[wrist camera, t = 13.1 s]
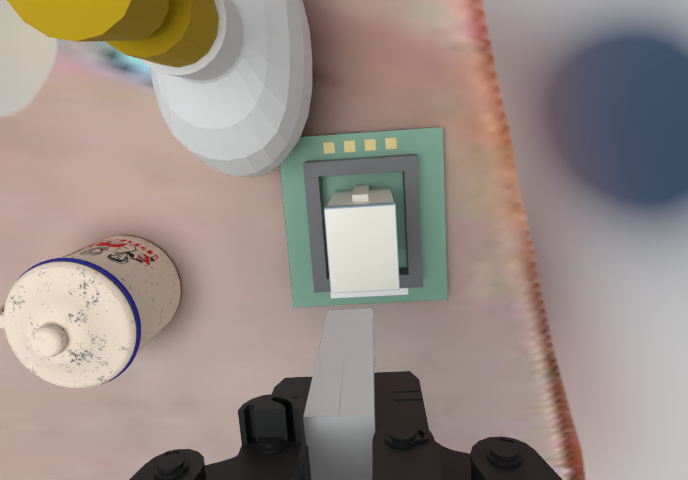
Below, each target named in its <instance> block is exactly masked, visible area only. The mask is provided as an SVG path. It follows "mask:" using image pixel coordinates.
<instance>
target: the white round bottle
mask: <svg viewBox="0 0 688 480" xmlns="http://www.w3.org/2000/svg"><path fill="white" fill-rule="evenodd" d="M7 1H8V2H9V3H10V4H11V6H12V7H13V8H14V10H15V11H16V12H17V13H18V15H19V16H20V17H21V19H22V20H23V21H24V22H26V23H27V24H29V25H31V26H32V27H34V28H35V29H37V30H39V31H40V32H42V33H43V34H45V35H47V36H48V37H53V38H59V39H65V40H71V41H106V42H107V43H108V44H109V45H111V46H113V47H114V48H116V49H117V50H119V51H121V52H122V53H124V54H125V55H129V56H132V57H136V58H139V59H140V60H141V61H142V62H144V63H145V64H147V65H148V66H149V67H150V70H151V76H152V82H153V86H154V90H155V93H156V97H157V100H158V104H159V108H160V111H161V114H162V115H163V117H164V119H165V121H166V123H167V125H168V126H169V128H170V130H171V132H172V134H173V136H175V137H176V138H177V139H178V140H179V141H180V142H181V143H182V144H183V145H184V146H185V147H186V148H187V149H189V150H190V151H191V152H192V153H193V154H194V155H195V156H196V157H197V158H198V159H199V160H200V161H202V162H203V163H204V164H205V165H207V166H209V167H211V168H213V169H215V170H217V171H219V172H221V173H223V174H230V175H236V176H244V177H255V176H259V175H264V174H267V173H269V172H270V171H271V170H273V169H274V168H276V167H277V166H279V165H280V164H281V163H282V162H283V161H284V160H285V158H286V157H287V156H288V154H289V153H290V152H291V150H292V149H293V148H294V146H295V145H296V144H297V142H298V141H299V139H300V137H301V134H302V132H303V129H304V126H305V124H306V121H307V118H308V114H309V107H310V101H311V94H312V50H311V39H310V29H309V25H308V20H307V16H306V12H305V8H304V3H303V0H7Z"/></svg>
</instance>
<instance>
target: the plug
mask: <svg viewBox="0 0 688 480" xmlns="http://www.w3.org/2000/svg"><path fill="white" fill-rule="evenodd" d="M324 215H325V228H326V240H327V253H328V265H329V278H330V290H331V293H347V292H367V291H386V290H400V282H399V262H398V242H397V222H396V204H395V202H394V201H393V197H392V193H391V190H390V187H374V188H369V185H358V186H355V187H354V189H343V190H335V192H334V194H333V196H332V197H331V199H330V201H329V203H328V205H327V206H325V208H324Z"/></svg>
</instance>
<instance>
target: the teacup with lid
mask: <svg viewBox="0 0 688 480" xmlns="http://www.w3.org/2000/svg"><path fill="white" fill-rule="evenodd" d="M180 296H181V286H180V280H179V276H178V273H177V271H176V268H175V267H174V265H173V263H172V262H171V260H170V259H169V258H168V256H167V255H166V254H165V253H164V252H163V251H162V250H161V249H160V248H158V247H157V246H155V245H154V244H152V243H150V242H148V241H146V240H144V239H141V238H138V237H133V236H114V237H109V238H106V239H103V240H101V241H99V242H97V243H94V244H92V245H90V246H87V247H85V248H83V249H80V250H78V251H76V252H73V253H71V254H69V255H67V256H64V257H62V258H56V259H51V260H47V261H44V262H41V263H39V264H37V265H35V266H33V267H31V268H30V269H28V270H27V271H26V272H24V273H23V274H22V275H21V276H20V278H19V279H18V280H17V281H16V283H15V284H14V285H13V287H12V289H11V290H10V292H9V294H8V297H7V300H6V304H5V305H3V306H1V307H0V328H2V329H5V332H6V336H7V339H8V341H9V344H10V346H11V348H12V350H13V351H14V353H15V355H16V356H17V357H18V359H19V360H20V361H21V362H22V363H23V365H24V366H26V367H27V368H28V369H29V370H30V371H31V372H32V373H34V374H35V375H37V376H38V377H40V378H42V379H43V380H45V381H48V382H50V383H52V384H55V385H59V386H62V387H68V388H89V387H94V386H97V385H101V384H104V383H106V382H109V381H111V380H113V379H115V378H116V377H117V376H119V375H120V374H121V373H123V372H124V371H125V370H126V369H127V368H128V367H129V365H130V364H131V363H132V361H133V359H134V358H135V356H136V354H137V353H138V352H139V351H140V350H141V349H142V348H143V347H144V346H145V345H146V344H147V343H148V342H149V341H150V340H151V339H152V338H153V337H154V336H155V335H156V334H157V333H158V332H159V331H160V330H162V329H163V328H164V327H165V326H166V325H167V324H168V323H169V321H170V320H171V319H172V318H173V316H174V314H175V313H176V311H177V308H178V306H179V302H180Z"/></svg>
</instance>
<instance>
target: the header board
mask: <svg viewBox="0 0 688 480" xmlns="http://www.w3.org/2000/svg"><path fill="white" fill-rule="evenodd" d="M280 173H281V183H282V193H283V204H284V214H285V224H286V235H287V245H288V255H289V266H290V276H291V286H292V297H293V307H306V306H326V305H346V304H367V303H387V302H407V301H428V300H448V291H447V256H446V220H445V185H444V150H443V127H433V128H418V129H404V130H390V131H376V132H362V133H348V134H334V135H320V136H306V137H300V139H299V141H298V142H297V144H296V145H295V146H294V148H293V149H292V150H291V152H290V153H289V154H288V156H287V157H286V158H285V160H284V161H283V162H282V163H281V164H280ZM358 185H369V188H374V187H390V190H391V193H392V197H393V201H394V202H395V204H396V222H397V242H398V262H399V282H400V290H386V291H367V292H347V293H331V290H330V278H329V265H328V253H327V240H326V228H325V215H324V208H325V206H327V205H328V203H329V201H330V199H331V197H332V196H333V194H334V192H335V190H343V189H354V187H355V186H358Z"/></svg>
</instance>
